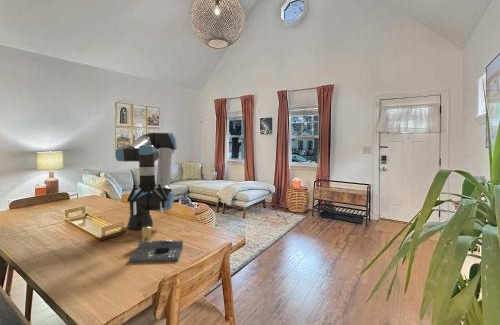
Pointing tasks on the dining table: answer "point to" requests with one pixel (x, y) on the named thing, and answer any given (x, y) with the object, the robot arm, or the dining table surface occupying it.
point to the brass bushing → (146, 233)
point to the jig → (157, 251)
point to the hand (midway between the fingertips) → (148, 214)
